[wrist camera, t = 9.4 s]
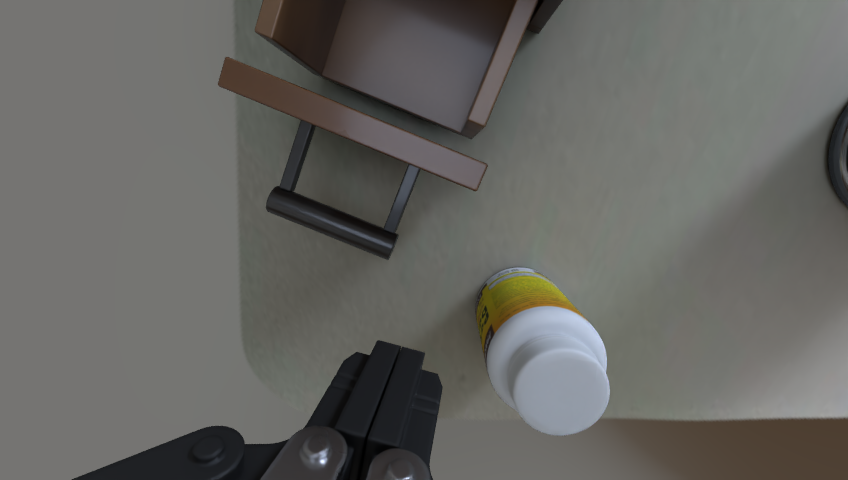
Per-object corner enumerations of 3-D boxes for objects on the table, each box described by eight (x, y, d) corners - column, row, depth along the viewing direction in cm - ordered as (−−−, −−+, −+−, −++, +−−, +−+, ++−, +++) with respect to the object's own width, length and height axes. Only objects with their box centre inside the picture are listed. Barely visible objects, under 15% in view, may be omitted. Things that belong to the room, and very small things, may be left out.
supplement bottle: (465, 276, 26) (479, 347, 16) (548, 255, 25) (618, 315, 15) (484, 353, 27) (510, 465, 17) (566, 334, 26) (642, 439, 16)
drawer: (435, 256, 25) (432, 296, 17) (266, 187, 24) (185, 197, 17) (563, -50, 21) (631, -171, 14) (368, -134, 21) (325, -306, 13)
